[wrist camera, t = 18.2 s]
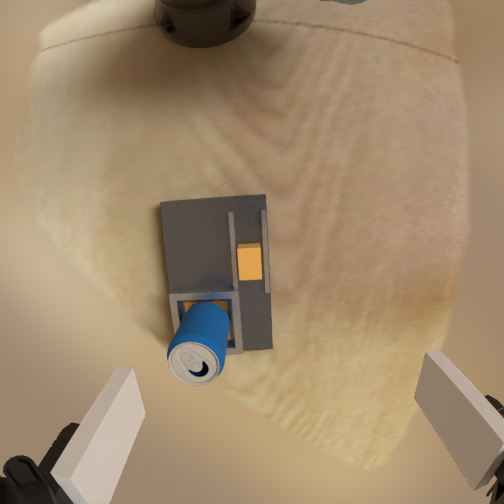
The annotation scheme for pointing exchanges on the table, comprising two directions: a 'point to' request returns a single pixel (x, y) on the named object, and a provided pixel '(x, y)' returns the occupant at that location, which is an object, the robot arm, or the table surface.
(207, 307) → the beverage can
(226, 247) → the panel
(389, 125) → the table surface
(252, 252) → the block
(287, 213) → the table surface
